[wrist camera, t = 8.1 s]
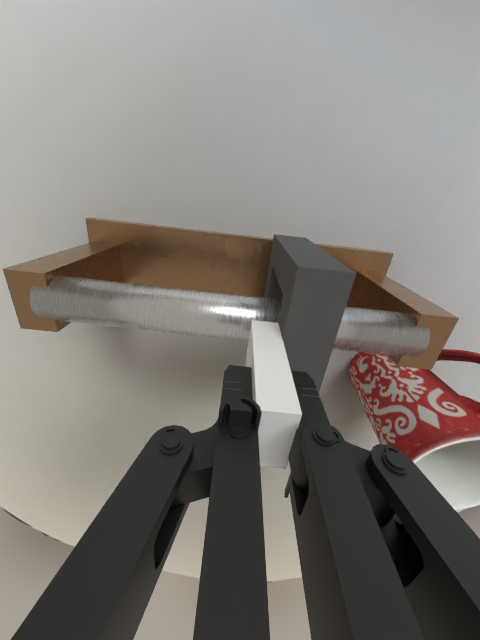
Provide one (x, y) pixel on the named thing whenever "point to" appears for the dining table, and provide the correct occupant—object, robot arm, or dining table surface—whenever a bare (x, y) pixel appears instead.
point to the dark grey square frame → (308, 301)
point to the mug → (424, 421)
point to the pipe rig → (213, 290)
